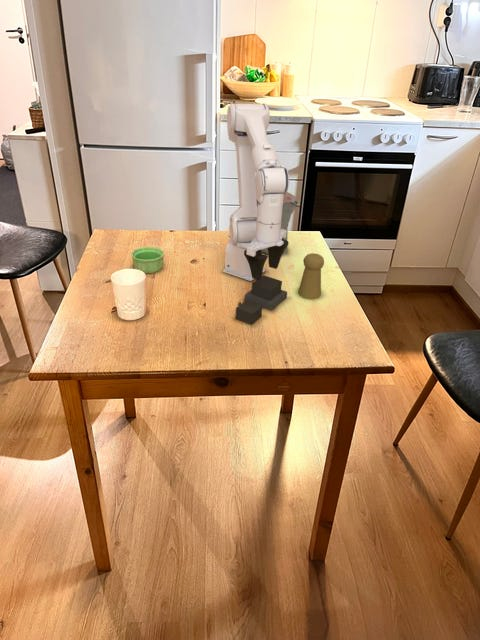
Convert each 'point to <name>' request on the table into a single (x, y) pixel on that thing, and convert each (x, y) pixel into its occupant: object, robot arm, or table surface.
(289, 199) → the moka pot
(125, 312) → the white cup
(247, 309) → the top pad
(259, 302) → the base pad
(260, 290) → the middle pad
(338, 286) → the table surface
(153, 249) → the ramekin
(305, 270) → the olive game pawn
